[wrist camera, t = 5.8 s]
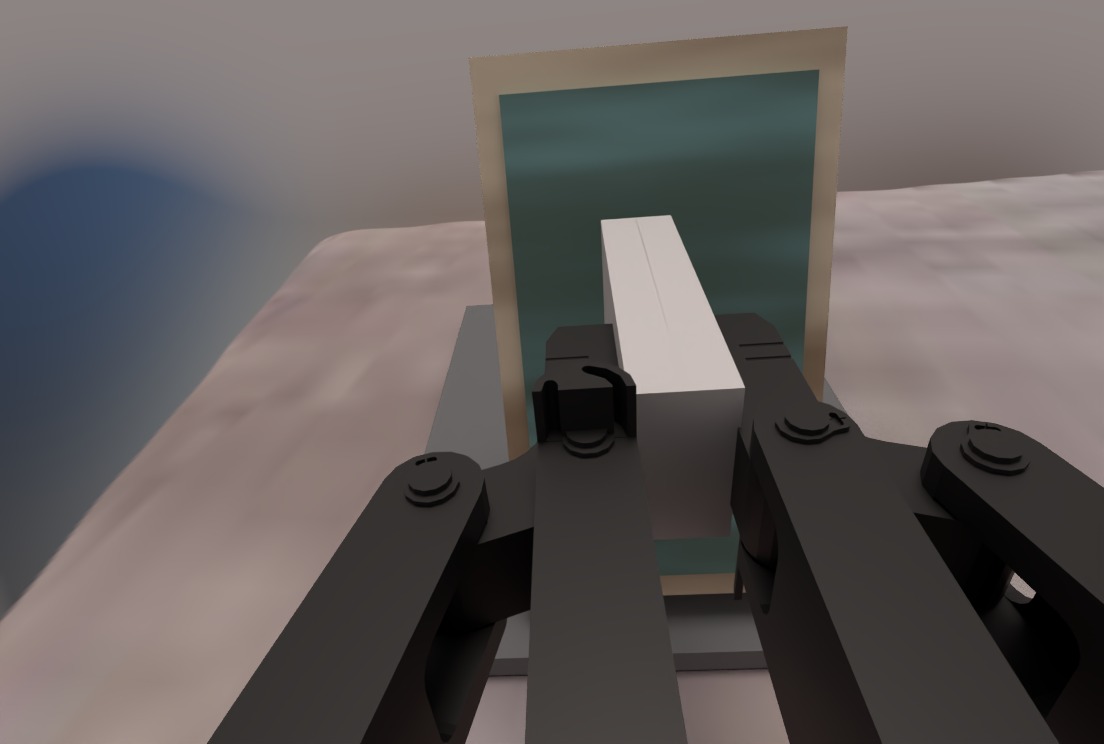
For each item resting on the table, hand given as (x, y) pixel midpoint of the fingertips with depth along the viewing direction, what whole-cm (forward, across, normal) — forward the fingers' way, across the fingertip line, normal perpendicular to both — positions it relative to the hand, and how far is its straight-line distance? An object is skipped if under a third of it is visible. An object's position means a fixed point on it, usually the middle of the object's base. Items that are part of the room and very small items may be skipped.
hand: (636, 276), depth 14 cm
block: (0, +1, -10) cm, 10 cm away
